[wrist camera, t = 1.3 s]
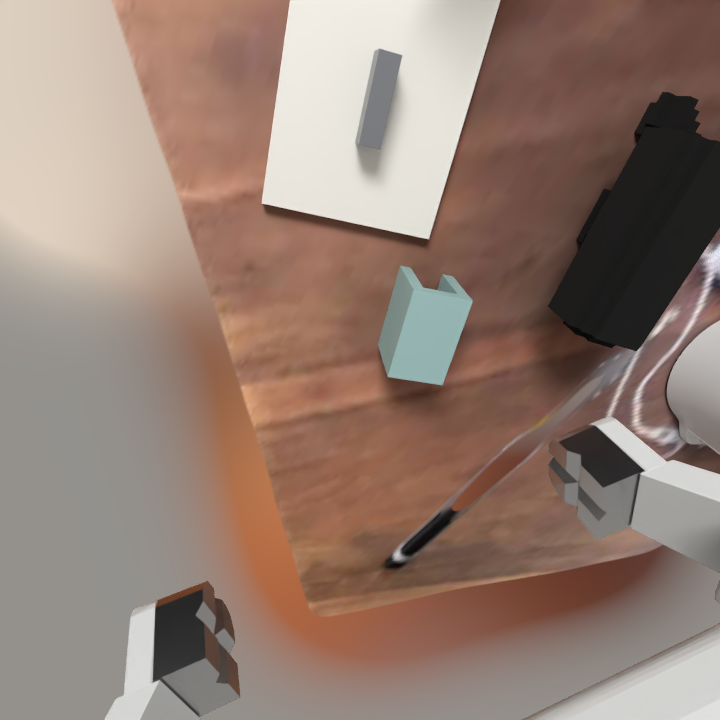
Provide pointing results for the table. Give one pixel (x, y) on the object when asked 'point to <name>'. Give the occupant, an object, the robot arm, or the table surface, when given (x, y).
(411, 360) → the jaw block
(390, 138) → the stub plate
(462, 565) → the table surface
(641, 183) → the security camera
